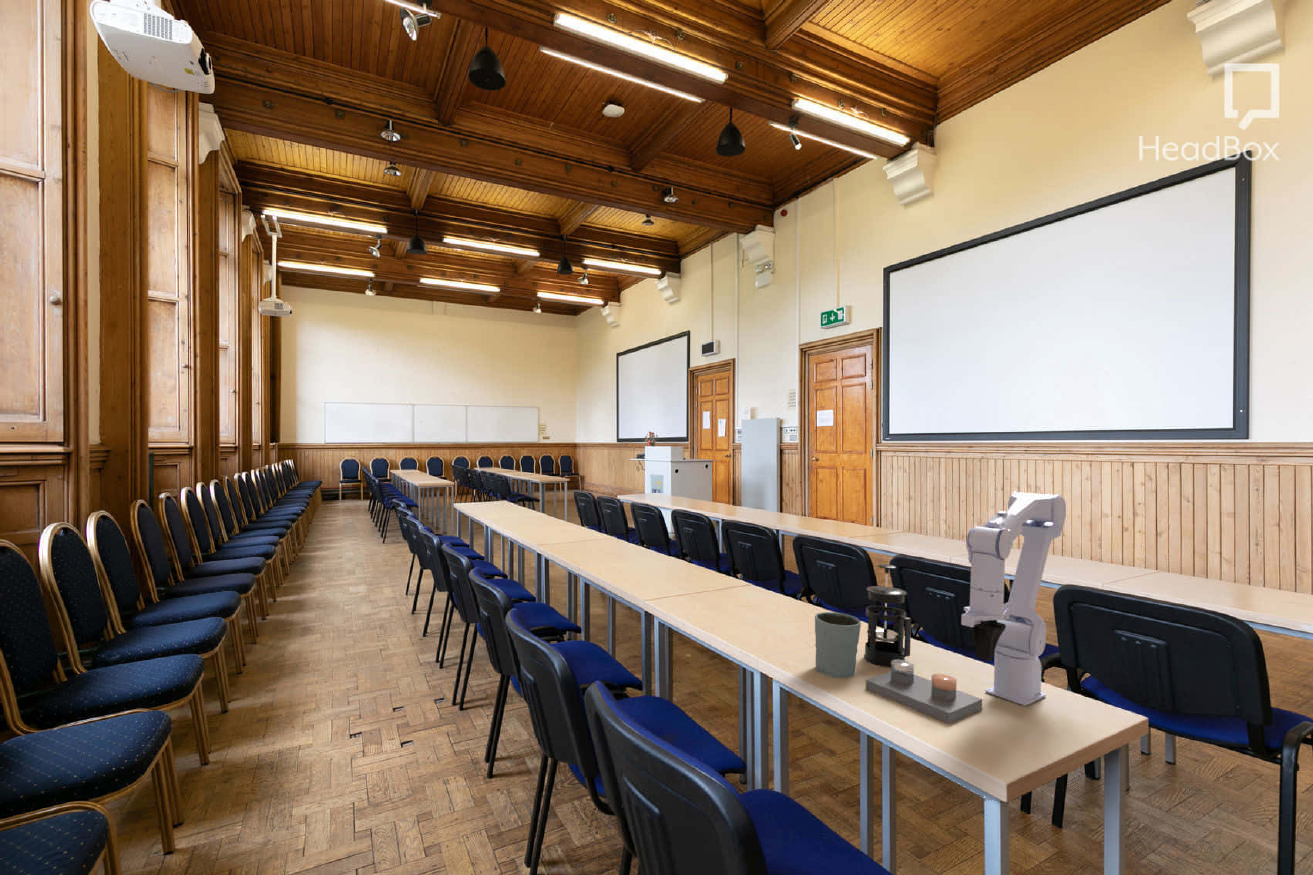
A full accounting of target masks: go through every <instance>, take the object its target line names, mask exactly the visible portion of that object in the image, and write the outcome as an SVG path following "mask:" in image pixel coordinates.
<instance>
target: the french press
mask: <svg viewBox="0 0 1313 875" xmlns="http://www.w3.org/2000/svg"><path fill="white" fill-rule="evenodd" d="M877 567H878V568H882V569H884V573H885V586H884V585H883V586H880V585H879V586H878V585H876V586H875V585H873V586H868V587H866V591H867V592H868V599H869V600H871V601H874V602H878V603H882V604H884V605H870V606H866V609H865V614H866V616H867V618H868V619H867V621H868V622H867V630H866V633H867V642H865V643H864V644H865V646H864V654H863V659H864V660H865V661H866V662H867V663H869V662H870V663H869V664H871V663H872V665H875V666H877V665H879V666H878V667H882V666H884V667H883V668H889V667H891V661H892V660H905V661H906V658H907V657H910V656H911V640H912V639H911V636H912V635H911V634H912V632H911V631H912V630H911V629H912V619H911V617H907V612H906V611H905V610H903V609H900V608H897V607H892V606H887V605H888V604H893V605H894V604H895V605H897V604H899V605H900V604H903V603H905V596H907V591H906V590H903V589H901V588H896V587H891V586H888V576H889V575H888V574H890V569H894V570H895V569H897V566H895V565H892V564H885V563H883V564H882V563H881V564H878V565H877ZM876 612H884V614H880V613H876ZM887 613H891V614H893V615H888V614H887ZM877 620H879V621H883V622H884V628H877V627H878V626H877ZM887 622H892V623H893V630H891V629H887Z"/></svg>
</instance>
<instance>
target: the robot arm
mask: <svg viewBox="0 0 1313 875" xmlns="http://www.w3.org/2000/svg"><path fill="white" fill-rule="evenodd" d="M1066 516H1067V505H1066V500H1065V499H1064V497H1063V496H1062V494H1045V493H1042V494H1041V493H1033V492H1032V493H1030V492H1020V491H1013V492H1012V494H1010V496H1009V498H1008V502H1007V510H1006V511H1005V510H999V511H997V512H996V514H994V515H993V516H992V517H991V518H989V520H988V521H986V522H985V524H983V525H982V526H978V525H976V526H974V527H972V528H970V529H969V531H968V532H967V535H966V540H965V545H966V546H965V547H966V550H967V554H968V555H967V557H968V559H967V560H968V563H970V587H969V588H970V589H969V591H970V592H969V606H964V607H963V611H964V612H965V613H962V614H961V622H960V624H961V625H962V626H965V627H966V628H968V630H969V632H970V634H971V637H972V639H973V640H972V641H973V643H974V647H975V648H974V649H975V652H976V653H975V654H976V657H977V659H979V660H983V661H985V662H991V661H992V660H993V658H994V670H993V686H991V687H988V688H986V689H985V692H986V693H987V694H990V695H993V696H996V697H999V698H1001V699H1005V700H1008V701H1009V702H1010V701H1011V702H1013V703H1016V704H1019V705H1021V706H1027V705H1031V704H1032V703H1034V702H1036V701H1038V700H1040V699H1042V698H1045V697H1047V696H1046V695H1047V694H1046V693H1044V692H1042V663H1041V660H1040V658H1039V657H1040V656H1041V655H1042V654H1043V653H1044V651H1045V648H1046V642H1047V641H1046V640H1047V639H1046V638H1047V636H1046V632H1047V624H1046V621H1045V620H1044V618H1043V617H1041V615H1040V614H1038V613H1037V611H1035V608H1036V605H1037V604H1036V603H1037V600H1038V595H1039V592H1040V587H1041V583H1042V579H1043V574H1044V571H1045V565H1046V563H1047V558H1048V555H1049V554H1048V553H1049V551H1050V547H1051V543H1052V541H1053V540H1054V539H1056V538H1059V537H1061V534H1062V532H1063V529H1064V525H1065V520H1066ZM1020 535H1021V536H1023V542H1022V543H1023V544H1022V547H1021V551H1020V553H1019V554H1020V555H1019V559H1018V562H1017V565H1016V566H1017V567H1016V570H1015V574H1014V578H1013V582H1012V586H1011V590H1010V594H1009V598H1008V602H1007V601H1006V603H1004V598H1005V597H1004V596H1005V572H1006V571H1005V568H1006V567H1005V566H1006V565H1005V564H1006V559H1008V558H1009V556H1010V553H1011V550H1012V547H1013V545H1014V541H1015V540H1016V539H1017V538H1018V537H1019V536H1020Z"/></svg>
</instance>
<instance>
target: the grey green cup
mask: <svg viewBox="0 0 1313 875" xmlns="http://www.w3.org/2000/svg"><path fill="white" fill-rule="evenodd" d="M861 625H862V621H861V620H860V619H859V618H857V617H856V616H853V615H850V614H846V613H843V612H842V613H841V612H835V611H833V612H832V611H828V612H827V611H824V612H818V613H816V614H815V615H814V632H815V649H816V650H815V669H816V671H817V672H819V673H820V674H821V675H824V676H827V675H828V677H830V676H831V677H830V678H837V679H838V678H839V679H840V678H841V679H847V678H851V676H852V677H854V676H855V673H856V667H857V653H858V645H859V639H860V633H861ZM853 675H854V676H853Z"/></svg>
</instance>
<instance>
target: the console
mask: <svg viewBox="0 0 1313 875" xmlns="http://www.w3.org/2000/svg"><path fill="white" fill-rule="evenodd" d="M865 690H866V691H869V692H871V693H873V694H876V695H879V696H881V697H883V698H886V699H888V700H890V701H892V702H895V703H897V704H900V705H902V706H904V707H908V708H910V709H912V710H914V711H917V712H920V713H922V714H924V715H926V716H929V717H931V718H934V719H936V720H938V721H941V722H943V723H946V724H948V725H949V724H952V723H954V722H957V721H959V720H961V719H964V718H966V717H968V716H970V715H972V714H975V713H977V712H980V711H982V710H983V699H982V698H980V697H977V696H975V695H972V694H968V693H967V692H963V691H961V690H958V689H956V690H953V691H946V690H941V689H938V688H935V687H934V686H932V679H931V680H930V679H928V678H925V677H922V676H919V675H917V674H915V673H914V674H912V675H901V674H897V673H895V672H893V671H892V670H891V671H890V672H886V673H883V674H880V675H877V676H873V677H870V678H868V679H865Z"/></svg>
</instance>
